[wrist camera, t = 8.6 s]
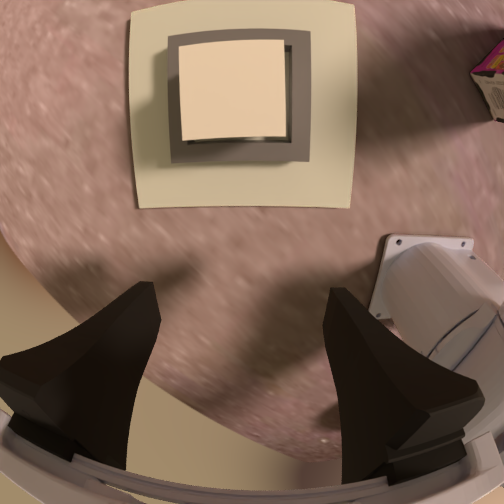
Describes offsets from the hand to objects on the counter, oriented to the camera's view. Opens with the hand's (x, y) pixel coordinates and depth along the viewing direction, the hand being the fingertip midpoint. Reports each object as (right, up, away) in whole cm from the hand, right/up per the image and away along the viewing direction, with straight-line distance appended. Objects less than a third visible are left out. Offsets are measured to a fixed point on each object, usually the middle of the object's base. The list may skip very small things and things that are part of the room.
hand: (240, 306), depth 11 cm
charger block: (0, +11, +3) cm, 12 cm away
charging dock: (0, +12, +4) cm, 12 cm away
